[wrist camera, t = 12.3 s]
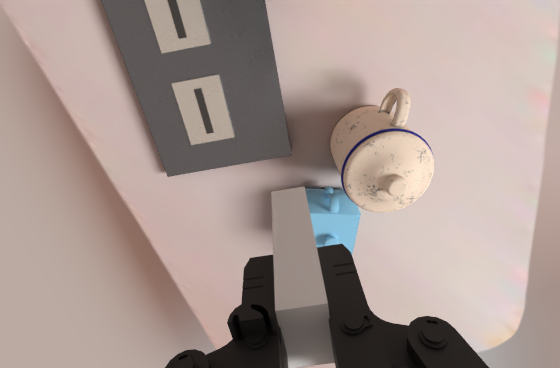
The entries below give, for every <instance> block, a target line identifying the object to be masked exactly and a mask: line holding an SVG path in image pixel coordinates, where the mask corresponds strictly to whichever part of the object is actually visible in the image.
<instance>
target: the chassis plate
mask: <svg viewBox="0 0 560 368" xmlns="http://www.w3.org/2000/svg"><path fill="white" fill-rule="evenodd" d="M101 1H102V4H103V6H104V9H105V12H106V14H107V17H108V19H109V22H110V25H111V27H112V30H113V33H114V35H115V38H116V41H117V43H118V46H119V49H120V51H121V54H122V57H123V59H124V62H125V65H126V67H127V70H128V72H129V75H130V78H131V80H132V83H133V86H134V88H135V91H136V94H137V96H138V99H139V102H140V104H141V107H142V110H143V112H144V115H145V118H146V120H147V123H148V125H149V128H150V131H151V133H152V136H153V139H154V141H155V144H156V147H157V149H158V152H159V155H160V157H161V160H162V163H163V165H164V168H165V171H166V173H167V176H168V177H169V176H175V175H181V174H186V173H192V172H198V171H203V170H209V169H215V168H220V167H226V166H232V165H237V164H243V163H249V162H254V161H260V160H266V159H272V158H277V157H283V156H289V155H292V154H291V148H290V142H289V136H288V131H287V125H286V119H285V113H284V108H283V102H282V96H281V90H280V85H279V79H278V73H277V67H276V62H275V56H274V50H273V44H272V39H271V33H270V27H269V21H268V16H267V10H266V4H265V0H101Z"/></svg>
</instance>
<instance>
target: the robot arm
mask: <svg viewBox="0 0 560 368" xmlns="http://www.w3.org/2000/svg"><path fill="white" fill-rule="evenodd" d="M271 201H272V231H273V255H268V256H261V257H254V258H250V259H249V261H248V263H247V264H246V266H245V268H244V277H243V280H244V282H243V291H242V304H241V305H240V306H238V307H237V308H235V309H234V311H233V312H232V313H231V314H230V316H229V319H228V322H227V324H228V326H229V329H230V332H231V335H232V338H233V339H232V340H231V341H230V342H229V343H228V344H227V345H225V346H223V347H222V348H220V349H218V350H216V351H213V352H211V353H209V354H207V355H205V354H204V353H203V352H201V351H198V350H186V351H184V352H182V353H179V354H178V355H176V356H175V357H174V358H173V359H171V360H170V361H169V363H168V364H167V366H166V367H165V368H288V366H289V368H298V367H305V366H313V365H320V364H328V363H335V365H336V368H489V367H488V366H487V365H486V364H485V363H484V362H483V361H482V359H481V358H480V357H479V356H478V355H477V353H476V352H475V351H474V350H473V349H472V348H471V347H470V345H469V344H468V343H467V342H466V341H465V340H464V339H463V337H462V336H461V335H460V334H459V333H458V332H457V331H456V329H455V328H453V327H452V326H451V325H450V324H449V323H448V322H446V321H444V320H442V319H439V318H437V317H430V316H424V317H418V318H417V319H415V320H413V321H412V322H411V323H410V325H409V326H407V325H400V324H394V323H390V322H386V321H384V320H382V319H380V318H378V317H377V316H376V315H374V314H373V312H372V311H371V310H370V308H369V306H368V304H367V301H366V298H365V295H364V292H363V289H362V286H361V283H360V279H359V276H358V273H357V270H356V267H355V264H354V261H353V258H352V255H351V252H350V251H349V250H348V249H347V248H346V247H345V246H344V245H343V244H336V245H329V246H322V247H317V246H316V241H315V236H314V231H313V226H312V221H311V216H310V211H309V206H308V201H307V196H306V191H305V186H304V187H297V188H291V189H285V190H278V191H272V192H271Z"/></svg>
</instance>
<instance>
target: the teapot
mask: <svg viewBox="0 0 560 368" xmlns="http://www.w3.org/2000/svg"><path fill="white" fill-rule="evenodd" d="M305 191H306V196H307V201H308V206H309V211H310V216H311V221H312V226H313V231H314V236H315V241H316V246H317V247H322V246H329V245H336V244H343V245H344V246H345V247H346V248H347V249H348V250H349V251H350V252H351V255H352V252H353V248H354V243H355V239H356V234H357V229H358V224H359V219H360V215H361V214H360V211H359V209H358V207H357V205H356V204H355V203H353V202H352V201H351V200H350V199H349V198H348V196H347V195H346V193H345V191H344V190H336V189H333V188H332V187H326V188H325V189H311V188H305Z"/></svg>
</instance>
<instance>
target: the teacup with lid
mask: <svg viewBox="0 0 560 368" xmlns="http://www.w3.org/2000/svg"><path fill="white" fill-rule="evenodd" d="M396 100H397V107H396V111H395V114H393V113H392V112H391V110H392V107H393V105H394V103H395V102H396ZM409 109H410V96H409V93H408V92H407V91H406V90H404V89H399V88H395V89H392V90H391V91H389V92H388V93H387V95H386V96H385V97H384V99H383V101H382V104H381V106H380V107H377V106H365V107H361V108H358V109H355V110H353V111H351V112H349V113H348V114H346V115H345V116H344V117H343V118H342V119H341V120H340V121H339V122H338V123H337V125H336V126H335V128H334V130H333V133H332V136H331V141H330V147H331V153H332V156H333V158H334V161H335V163H336V166H337V168H338V171H339V173H340V175H341V182H342V186H343V189H344V191H345V193H346V195H347V196H348V198H349V199H350V200H351V201H352V202H353V203H355V204H356V205H358V206H359V207H361V208H363V209H365V210H368V211H372V212H382V213H384V212H392V211H396V210H399V209H402V208H404V207H406V206H408V205H410V204H412V203H413V202H414V201H416V200H417V199H418V198H419V197H420V196H421V195H422V194H423V193H424V192H425V190H426V189H427V187H428V186H429V184H430V182H431V179H432V176H433V172H434V158H433V154H432V151H431V148H430V147H429V145H428V144H427V142H426V141H425V140H424V139H423V138H422V137H421V136H419V135H418V134H416V133H414V132H412V131H411V130H410V129H409V128H408V127H407V126H406V125H405V122H406V119H407V117H408V113H409Z"/></svg>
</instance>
